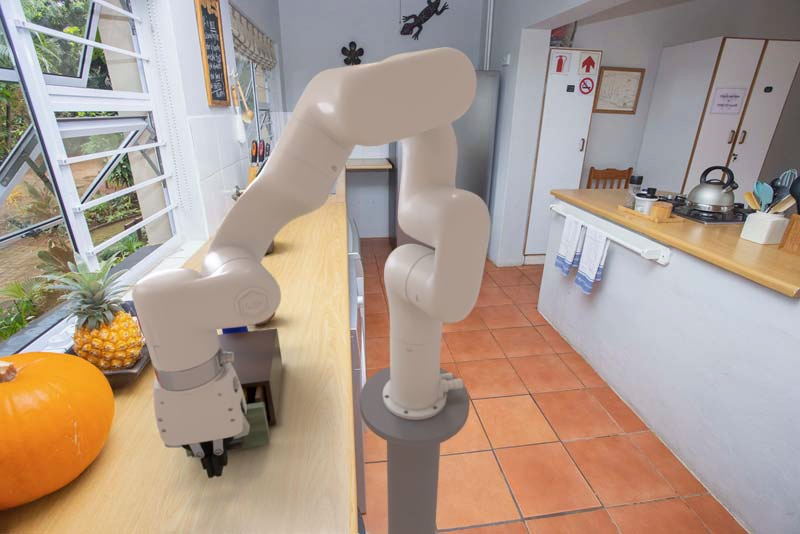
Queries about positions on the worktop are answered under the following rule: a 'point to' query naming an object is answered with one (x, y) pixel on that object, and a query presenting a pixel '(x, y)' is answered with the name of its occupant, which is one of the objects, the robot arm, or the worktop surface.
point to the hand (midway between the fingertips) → (217, 468)
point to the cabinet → (257, 363)
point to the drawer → (252, 421)
